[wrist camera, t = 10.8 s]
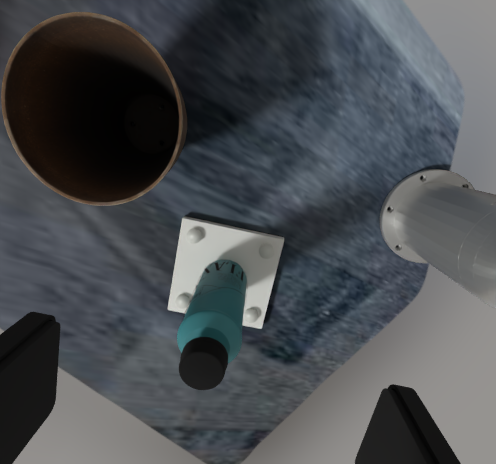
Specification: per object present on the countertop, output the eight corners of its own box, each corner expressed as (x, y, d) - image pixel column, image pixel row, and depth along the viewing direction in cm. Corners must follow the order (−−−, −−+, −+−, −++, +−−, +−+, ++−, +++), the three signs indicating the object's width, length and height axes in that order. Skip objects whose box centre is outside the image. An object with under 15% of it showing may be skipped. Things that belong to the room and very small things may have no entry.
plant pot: (72, 133, 43) (-32, 130, 28) (135, 32, 40) (57, -37, 24) (166, 205, 45) (118, 239, 30) (233, 114, 42) (219, 100, 26)
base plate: (283, 237, 46) (284, 241, 44) (261, 324, 50) (261, 331, 48) (184, 216, 45) (181, 219, 44) (169, 305, 49) (166, 311, 47)
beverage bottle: (254, 260, 46) (250, 349, 26) (241, 302, 47) (229, 413, 28) (208, 247, 45) (171, 327, 26) (197, 290, 47) (154, 394, 28)
